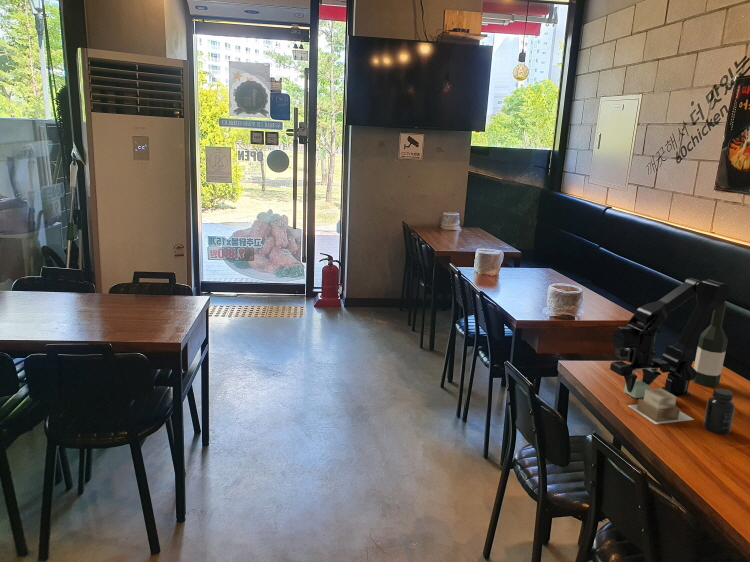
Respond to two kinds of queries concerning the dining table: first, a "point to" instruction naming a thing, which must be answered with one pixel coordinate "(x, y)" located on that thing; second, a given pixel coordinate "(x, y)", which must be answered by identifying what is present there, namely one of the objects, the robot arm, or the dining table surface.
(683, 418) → the grey mat
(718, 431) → the supplement bottle
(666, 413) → the walnut slab
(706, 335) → the wine bottle
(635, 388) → the sage block
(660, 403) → the birch block
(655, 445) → the dining table surface
